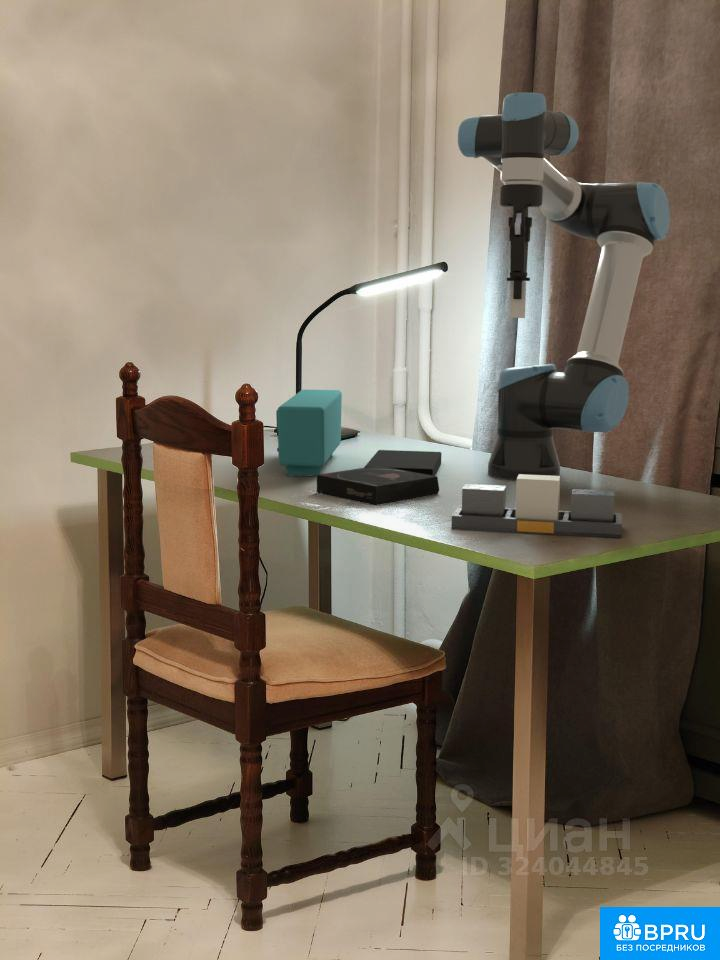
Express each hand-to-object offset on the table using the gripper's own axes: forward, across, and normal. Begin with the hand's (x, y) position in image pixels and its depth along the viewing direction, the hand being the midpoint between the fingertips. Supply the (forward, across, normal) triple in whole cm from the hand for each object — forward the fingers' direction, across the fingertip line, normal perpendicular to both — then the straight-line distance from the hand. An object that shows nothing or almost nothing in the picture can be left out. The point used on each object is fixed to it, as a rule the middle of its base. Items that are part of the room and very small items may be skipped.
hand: (517, 317), depth 222 cm
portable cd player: (+35, -4, -26) cm, 44 cm away
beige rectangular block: (+34, +20, +6) cm, 40 cm away
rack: (+34, +20, +6) cm, 40 cm away
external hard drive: (+35, -30, -25) cm, 53 cm away
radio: (+35, -32, -47) cm, 67 cm away
